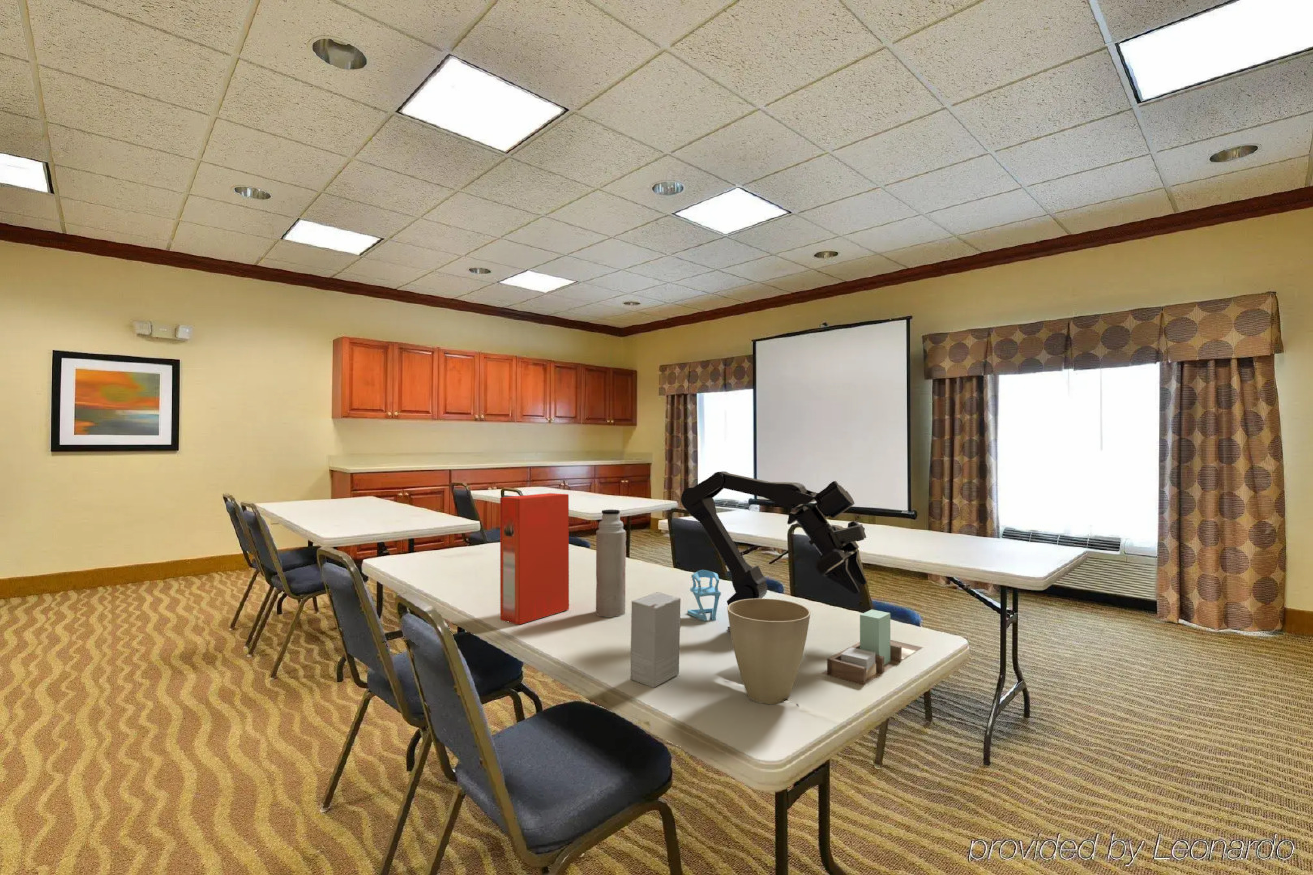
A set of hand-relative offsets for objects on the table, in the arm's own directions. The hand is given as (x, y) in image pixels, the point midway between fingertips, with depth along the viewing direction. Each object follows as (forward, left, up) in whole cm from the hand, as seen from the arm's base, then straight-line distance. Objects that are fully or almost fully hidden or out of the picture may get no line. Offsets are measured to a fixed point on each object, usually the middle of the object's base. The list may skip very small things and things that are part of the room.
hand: (861, 588), depth 134 cm
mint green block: (-3, -9, -13) cm, 16 cm away
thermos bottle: (-49, +43, -14) cm, 67 cm away
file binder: (-69, +46, -14) cm, 84 cm away
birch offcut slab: (-10, -14, -13) cm, 21 cm away
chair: (-25, +34, -14) cm, 44 cm away
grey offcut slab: (-10, -14, -11) cm, 20 cm away
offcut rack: (-2, -8, -14) cm, 16 cm away
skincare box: (-48, -4, -14) cm, 50 cm away
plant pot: (-30, -17, -14) cm, 38 cm away
